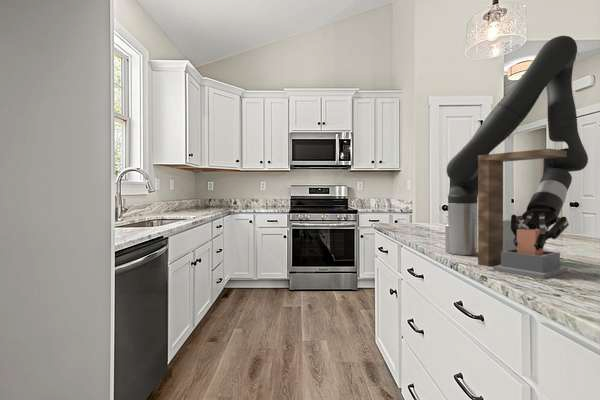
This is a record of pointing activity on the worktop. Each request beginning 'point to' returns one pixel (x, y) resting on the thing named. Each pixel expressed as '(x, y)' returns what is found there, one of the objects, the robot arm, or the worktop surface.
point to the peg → (528, 241)
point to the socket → (530, 264)
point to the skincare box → (508, 236)
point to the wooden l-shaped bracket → (497, 199)
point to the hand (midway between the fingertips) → (526, 246)
